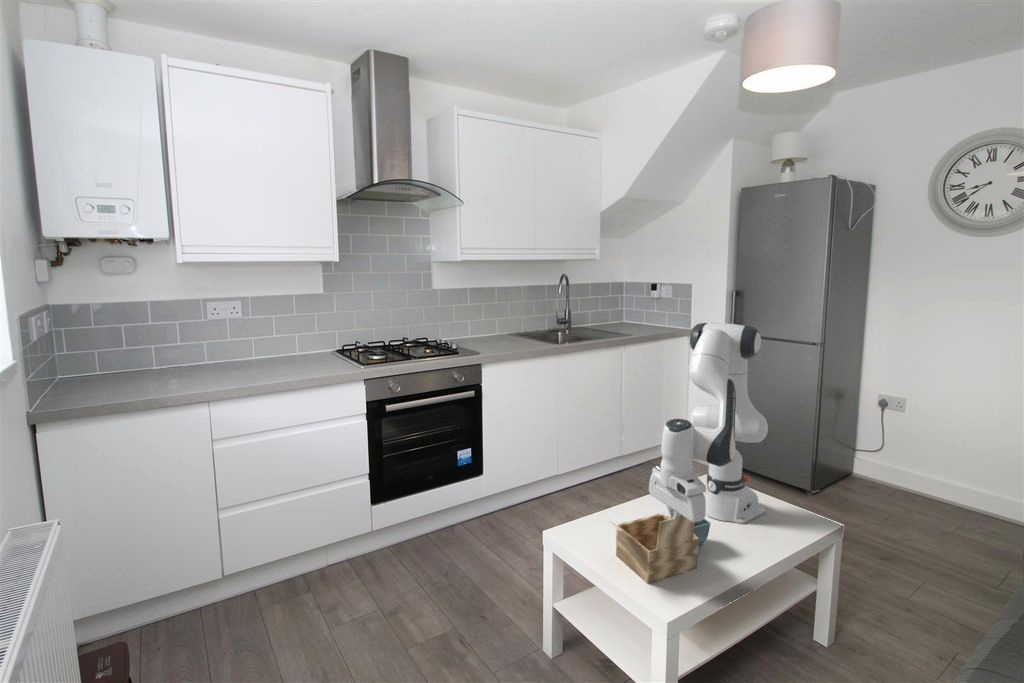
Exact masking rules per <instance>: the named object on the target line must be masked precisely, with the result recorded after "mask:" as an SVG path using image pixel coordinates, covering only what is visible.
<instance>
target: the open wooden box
mask: <svg viewBox="0 0 1024 683" xmlns="http://www.w3.org/2000/svg"><path fill="white" fill-rule="evenodd" d="M668 519H670V515H666V514H664V513H662V514H660V513H656V514H653V515H649V516H645V517H642V518H637V519H634V520H629V521H626V522H625V521H624V522H622V523H618V524H617V526H618V527H619V528H621V529H622V530H623V531H625V532H626V533H627V534H628V535H630V536H631V537H632V538H633V539H635V540H636V541H637V542H638V543H640V545H638V544H637V543H636V542H634V541H633V540H632V539H630V538H629V537H628V536H626V535H625V534H624V533H622V532H621V531H620V530H618V529H617V528H616V533H615V534H616V537H615V538H616V539H615V540H616V541H615V543H616V544H615V556H616V557H617V558H618V559H619V560H620V561H621V562H623V563H624V564H625V565H626V566H627V567H628V568H629V569H630V570H632V571H633V572H634V573H635V574H636V575H637V576H639V577H640V578H641V579H642V581H644V582H645V583H646V584H647V585H649V584H653V583H656V582H658V581H659V582H660V581H662V580H665V579H668V578H672V577H675V576H678V575H680V574H684V573H687V572H690V571H693V570H696V569H697V568H698V557H699V556H698V554H699V547H698V537H697V536H696V534H694V535H693V540H690V541H686V542H683V543H679V544H676V545H672V546H669V547H665V548H662V549H659V550H657V549H656V547H657V538H658V530H659V522H660V521H664V520H668Z"/></svg>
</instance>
